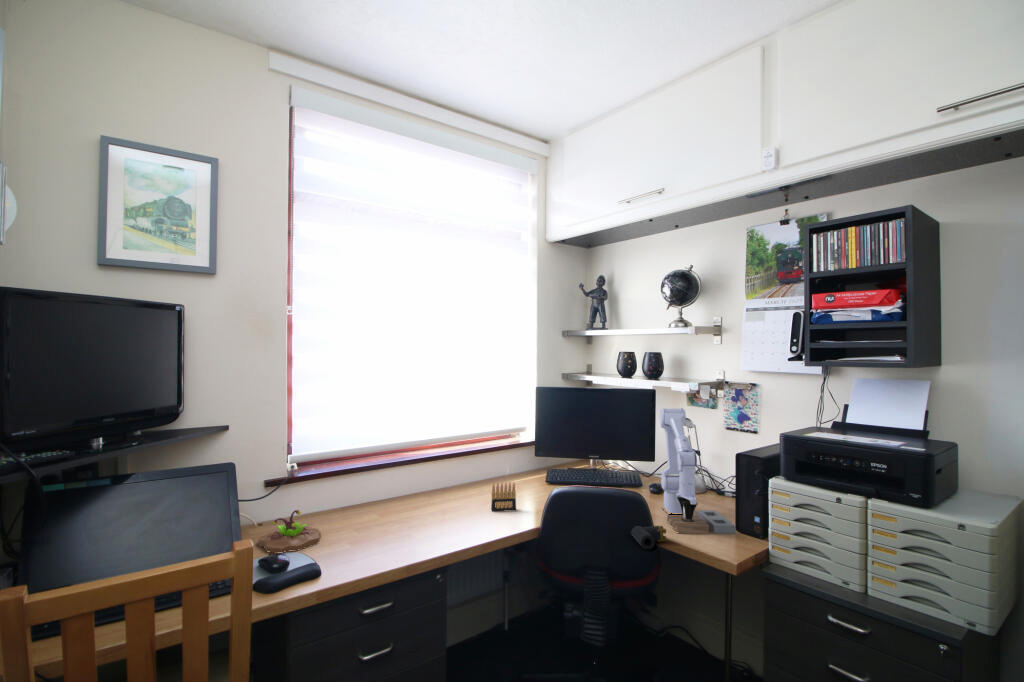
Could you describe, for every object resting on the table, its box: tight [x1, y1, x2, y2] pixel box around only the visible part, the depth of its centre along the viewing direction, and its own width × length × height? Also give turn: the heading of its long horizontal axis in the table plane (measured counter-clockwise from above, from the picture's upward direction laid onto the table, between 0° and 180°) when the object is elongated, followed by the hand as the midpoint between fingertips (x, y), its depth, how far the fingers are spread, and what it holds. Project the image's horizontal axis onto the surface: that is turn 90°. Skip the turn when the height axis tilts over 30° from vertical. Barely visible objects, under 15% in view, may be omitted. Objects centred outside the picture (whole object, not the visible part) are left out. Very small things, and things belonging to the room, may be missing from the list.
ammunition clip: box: [490, 481, 517, 512], centre depth 214 cm, size 11×2×12 cm, turn 98°
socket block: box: [666, 514, 710, 534], centre depth 192 cm, size 12×12×3 cm
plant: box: [257, 509, 322, 554], centre depth 178 cm, size 20×20×11 cm
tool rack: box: [696, 509, 737, 535], centre depth 195 cm, size 18×8×3 cm, turn 0°
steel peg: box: [683, 506, 692, 522], centre depth 192 cm, size 3×3×9 cm
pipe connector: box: [630, 525, 667, 550], centre depth 179 cm, size 12×5×15 cm
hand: (687, 517), depth 192 cm, fingers closed on steel peg, 3 cm apart
